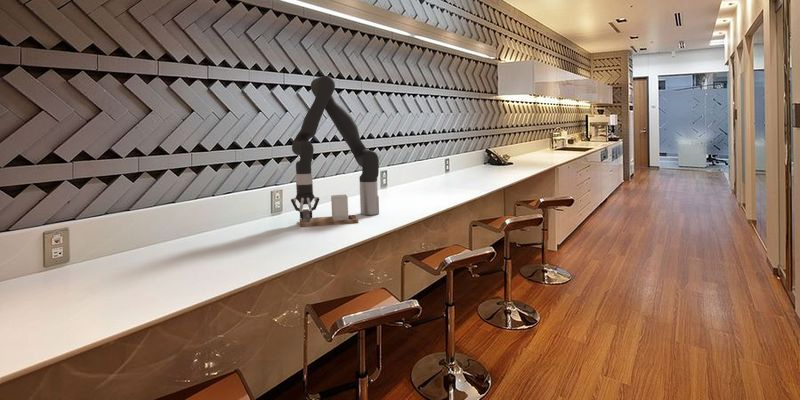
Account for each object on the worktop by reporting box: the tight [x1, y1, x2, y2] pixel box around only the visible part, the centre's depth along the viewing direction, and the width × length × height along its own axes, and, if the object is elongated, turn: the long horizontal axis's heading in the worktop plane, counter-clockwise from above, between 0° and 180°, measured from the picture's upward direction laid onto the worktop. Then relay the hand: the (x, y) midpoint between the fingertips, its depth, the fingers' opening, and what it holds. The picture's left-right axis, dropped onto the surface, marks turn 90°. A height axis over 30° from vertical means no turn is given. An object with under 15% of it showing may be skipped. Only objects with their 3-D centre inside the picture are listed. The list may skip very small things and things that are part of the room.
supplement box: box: [330, 194, 349, 221], centre depth 214 cm, size 7×7×13 cm
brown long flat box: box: [299, 208, 359, 228], centre depth 212 cm, size 27×12×6 cm, turn 104°
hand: (306, 218), depth 210 cm, fingers closed on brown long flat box, 3 cm apart
